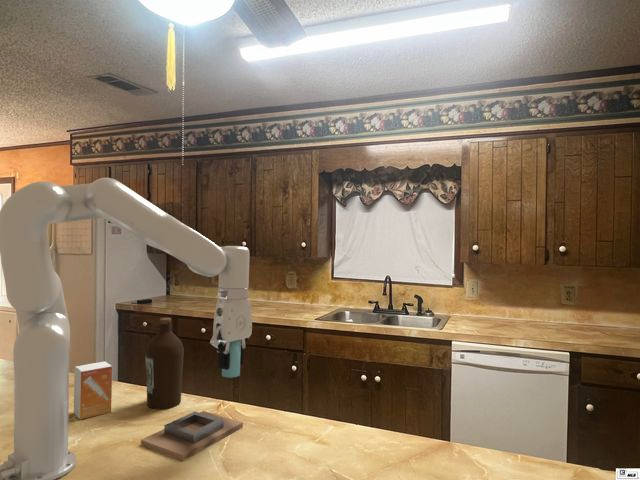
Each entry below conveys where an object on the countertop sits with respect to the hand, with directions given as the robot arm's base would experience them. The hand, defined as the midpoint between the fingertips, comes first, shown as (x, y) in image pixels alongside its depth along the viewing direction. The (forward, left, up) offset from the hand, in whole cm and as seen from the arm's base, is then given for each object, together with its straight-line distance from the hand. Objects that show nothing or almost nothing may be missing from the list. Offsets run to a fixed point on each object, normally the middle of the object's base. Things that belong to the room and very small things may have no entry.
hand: (231, 365), depth 109 cm
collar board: (-7, +6, -17) cm, 19 cm away
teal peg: (0, 0, -2) cm, 2 cm away
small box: (-12, +40, -17) cm, 45 cm away
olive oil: (+3, +29, -17) cm, 33 cm away
